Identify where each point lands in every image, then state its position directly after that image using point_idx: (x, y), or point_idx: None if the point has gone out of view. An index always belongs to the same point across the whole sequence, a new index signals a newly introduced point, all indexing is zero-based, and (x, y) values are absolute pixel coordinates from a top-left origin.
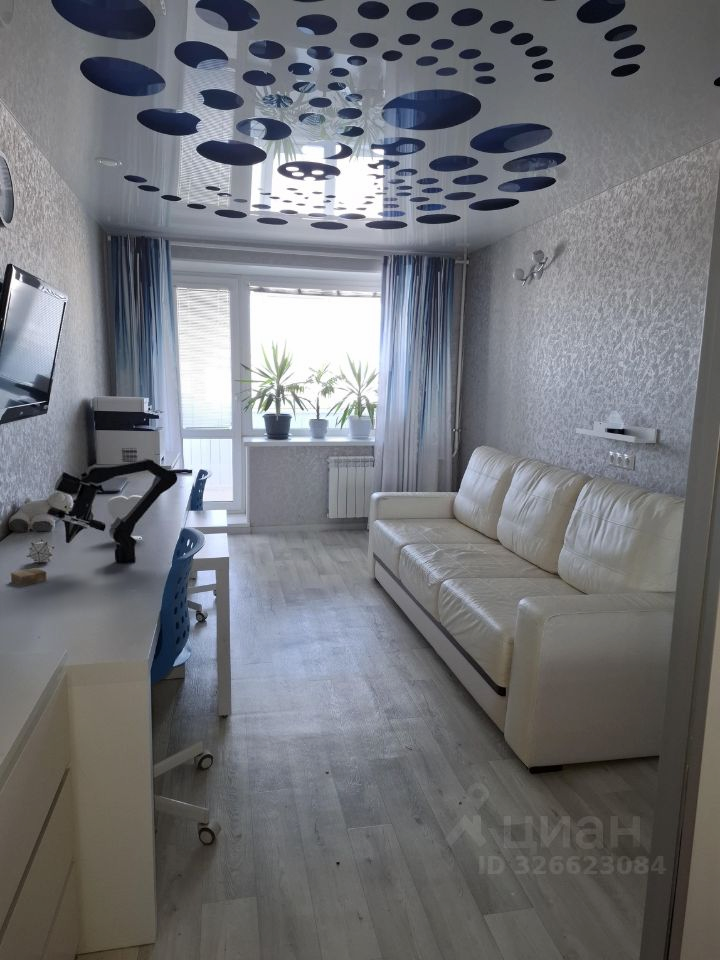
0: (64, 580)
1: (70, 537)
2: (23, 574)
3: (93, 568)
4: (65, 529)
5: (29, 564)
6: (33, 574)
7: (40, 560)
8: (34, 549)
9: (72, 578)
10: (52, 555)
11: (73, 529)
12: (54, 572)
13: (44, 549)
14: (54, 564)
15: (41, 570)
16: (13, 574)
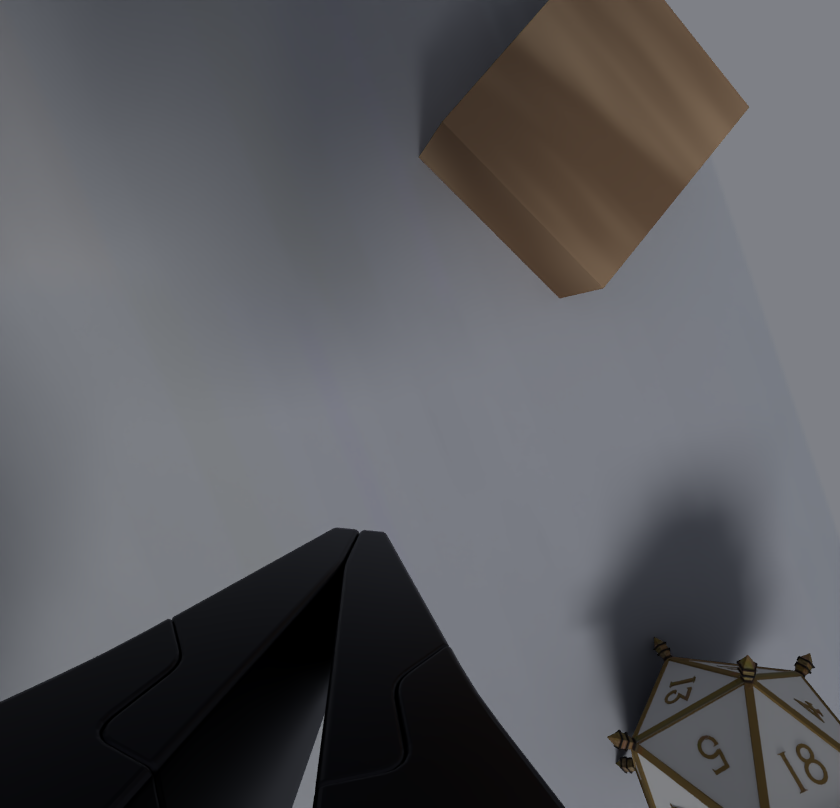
0: (233, 126)
1: (273, 575)
2: (624, 32)
3: (81, 566)
4: (481, 703)
5: (733, 641)
6: (530, 21)
7: (675, 665)
8: (815, 721)
9: (173, 191)
10: (607, 737)
11: (79, 745)
12: (443, 411)
13: (724, 758)
14: (541, 665)
15: (508, 177)
16: (713, 69)
